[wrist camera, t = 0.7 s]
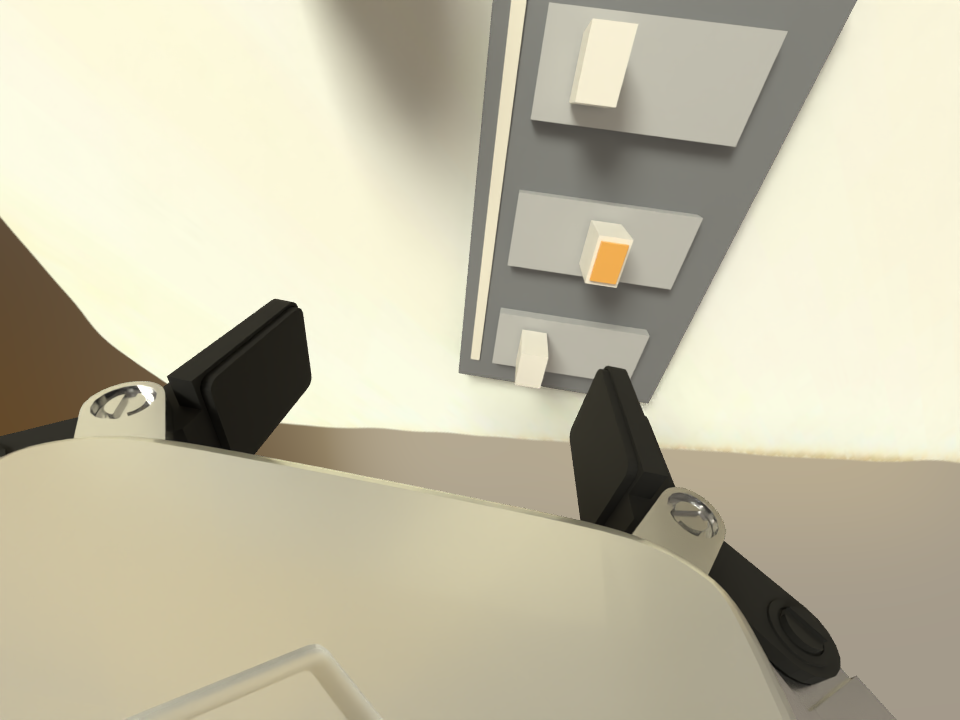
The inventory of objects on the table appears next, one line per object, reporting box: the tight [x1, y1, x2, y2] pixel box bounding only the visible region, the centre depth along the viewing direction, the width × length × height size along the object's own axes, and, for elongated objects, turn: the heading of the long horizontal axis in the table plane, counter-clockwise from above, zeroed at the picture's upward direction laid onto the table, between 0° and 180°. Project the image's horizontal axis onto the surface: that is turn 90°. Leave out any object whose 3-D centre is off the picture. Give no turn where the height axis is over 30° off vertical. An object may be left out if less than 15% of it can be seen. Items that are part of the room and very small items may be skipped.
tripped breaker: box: [579, 220, 633, 288], centre depth 23 cm, size 2×3×4 cm, turn 174°
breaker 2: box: [569, 18, 638, 108], centre depth 18 cm, size 2×3×4 cm, turn 174°
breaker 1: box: [515, 329, 548, 389], centre depth 28 cm, size 2×3×4 cm, turn 174°
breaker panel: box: [459, 0, 857, 403], centre depth 26 cm, size 18×28×3 cm, turn 174°
